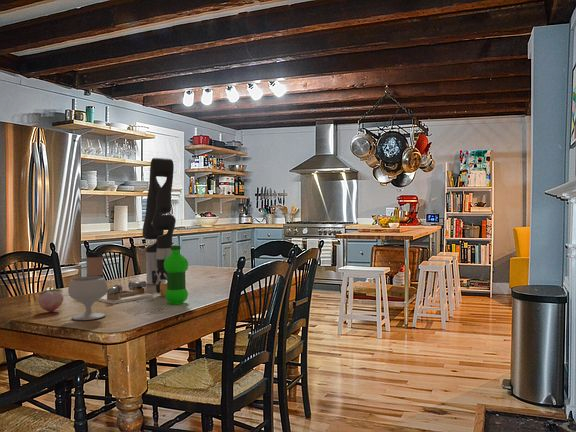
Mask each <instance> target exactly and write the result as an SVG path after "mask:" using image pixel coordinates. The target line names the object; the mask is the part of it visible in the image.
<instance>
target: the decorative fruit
mask: <svg viewBox="0 0 576 432" xmlns="http://www.w3.org/2000/svg"><path fill="white" fill-rule="evenodd" d="M63 291H64V290H61V289H59V288H53V289H52V287H49V289H47V290H42V291H40V292H39V293H38V304H39V306H40V308H41V309H42V310H44V311H46V312H49V313H52V312H54V311H56V310H57V309H58V308H59V307H60V306H61V305H62V304H63V301H64V296H63V294H62V293H63ZM61 292H62V293H61Z"/></svg>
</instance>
